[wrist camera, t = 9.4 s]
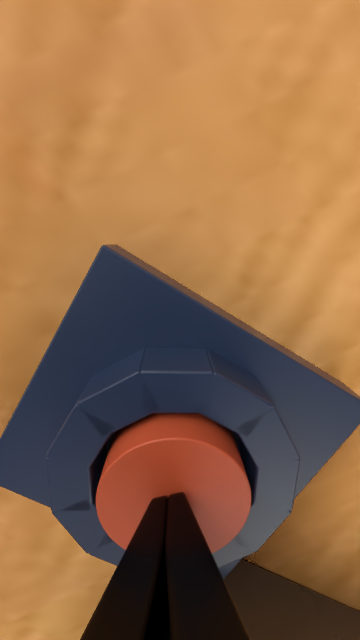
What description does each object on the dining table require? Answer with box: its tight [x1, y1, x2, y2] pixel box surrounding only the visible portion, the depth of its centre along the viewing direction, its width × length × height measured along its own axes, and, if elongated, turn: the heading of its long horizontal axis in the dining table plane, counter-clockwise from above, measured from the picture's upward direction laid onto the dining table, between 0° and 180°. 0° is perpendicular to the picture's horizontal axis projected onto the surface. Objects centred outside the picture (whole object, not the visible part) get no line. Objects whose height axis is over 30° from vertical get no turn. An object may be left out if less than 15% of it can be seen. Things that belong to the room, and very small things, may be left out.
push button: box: [96, 413, 251, 553], centre depth 8 cm, size 4×4×2 cm
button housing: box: [0, 245, 360, 579], centre depth 10 cm, size 10×9×4 cm
